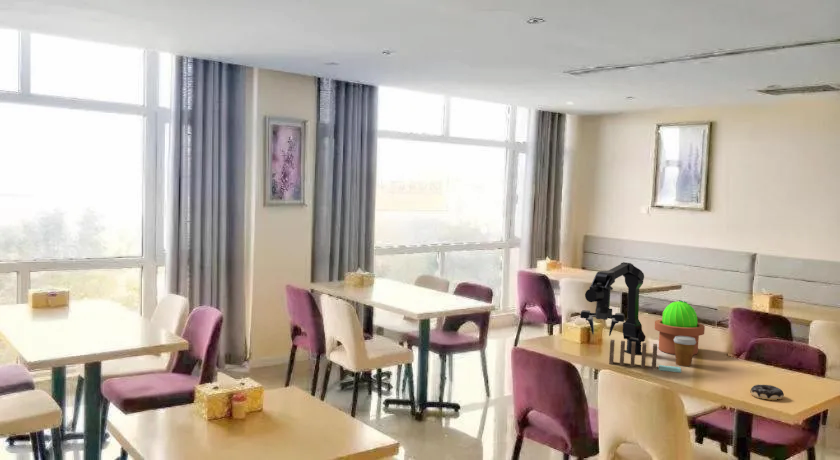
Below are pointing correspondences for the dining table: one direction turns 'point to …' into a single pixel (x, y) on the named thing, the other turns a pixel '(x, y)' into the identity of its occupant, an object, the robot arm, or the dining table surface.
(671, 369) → the mat
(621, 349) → the domino
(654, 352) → the domino
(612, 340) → the domino
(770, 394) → the donut
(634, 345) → the domino
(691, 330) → the potted cactus
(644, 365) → the domino
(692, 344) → the disposable coffee cup
